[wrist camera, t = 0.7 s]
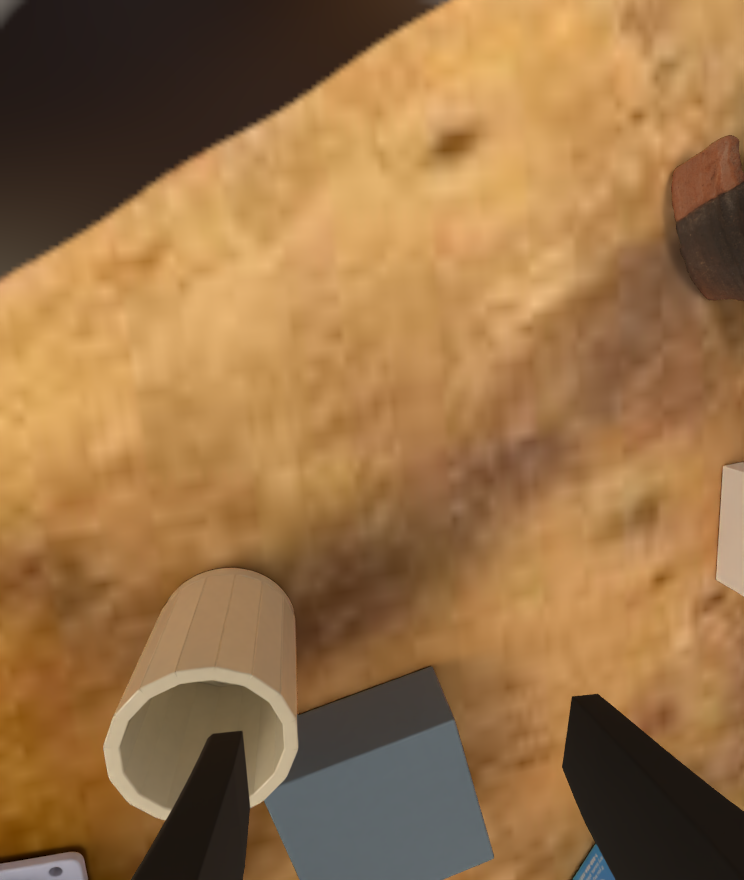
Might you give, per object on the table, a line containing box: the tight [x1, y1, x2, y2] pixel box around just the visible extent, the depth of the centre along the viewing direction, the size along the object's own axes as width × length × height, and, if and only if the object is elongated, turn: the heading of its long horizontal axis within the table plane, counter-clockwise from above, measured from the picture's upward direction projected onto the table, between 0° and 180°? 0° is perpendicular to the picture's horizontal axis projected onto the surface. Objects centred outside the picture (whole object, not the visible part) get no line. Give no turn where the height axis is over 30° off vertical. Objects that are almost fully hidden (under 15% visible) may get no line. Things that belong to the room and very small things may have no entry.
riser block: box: [264, 667, 494, 880], centre depth 21 cm, size 8×8×3 cm
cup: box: [103, 568, 299, 820], centre depth 17 cm, size 6×6×6 cm
